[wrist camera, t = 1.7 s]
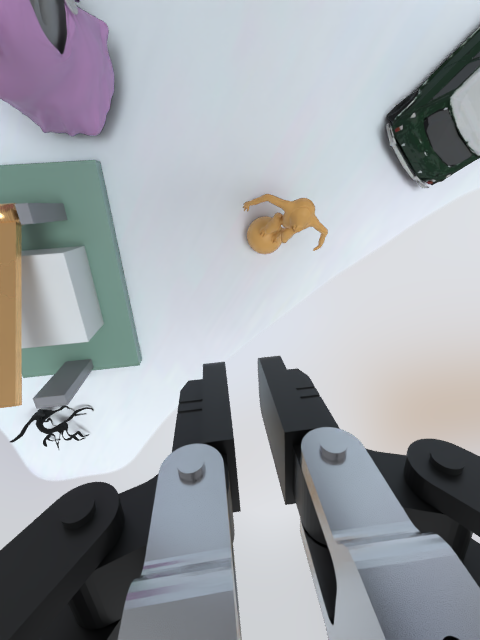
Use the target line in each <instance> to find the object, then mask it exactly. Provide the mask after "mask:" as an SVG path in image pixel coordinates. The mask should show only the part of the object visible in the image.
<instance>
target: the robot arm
mask: <svg viewBox="0 0 480 640" xmlns="http://www.w3.org/2000/svg"><path fill="white" fill-rule="evenodd" d="M258 378H259V397H260V407H261V413H262V417H263V421H264V425H265V429H266V433H267V436H268V440H269V443H270V448H271V452H272V455H273V459H274V463H275V467H276V470H277V474H278V478H279V482H280V486H281V490H282V493H283V497H284V501H285V504H286V505H287V504H294V503H296V504H297V508H298V511H299V514H300V532H301V537H302V541H303V545H304V548H305V552H306V555H307V559H308V563H309V567H310V570H311V574H312V578H313V581H314V585H315V589H316V593H317V596H318V600H319V604H320V608H321V611H322V615H323V618H324V622H325V626H326V630H327V635H328V640H480V544H479V543H478V542H476V541H475V540H473V539H472V538H471V537H472V534H473V533H475V534H476V535H478V536H479V537H480V456H477V455H475V454H473V453H471V452H469V451H467V450H465V449H463V448H461V447H459V446H456V445H454V444H452V443H449V442H446V441H442V440H436V439H421V440H417V441H415V442H413V443H412V444H411V445H410V446H409V448H408V451H407V456H406V455H399V454H390V453H383V452H377V451H372V450H368V449H366V448H365V447H364V446H363V444H362V443H361V442H360V441H359V440H358V439H357V438H356V437H355V436H353V435H352V434H350V433H349V432H346V431H344V430H341V429H339V427H338V425H337V423H336V422H335V420H334V418H333V417H332V415H331V413H330V412H329V410H328V408H327V406H326V405H325V403H324V402H323V400H322V398H321V397H320V395H319V393H318V391H317V390H316V388H315V387H314V385H313V383H312V381H311V379H310V378H309V377H308V376H307V375H306V374H304V373H303V372H302V371H300V370H299V369H289V370H287V369H286V367H285V365H284V363H283V361H282V359H281V357H280V356H273V357H264V358H258ZM239 511H240V500H239V490H238V479H237V468H236V458H235V447H234V438H233V428H232V420H231V411H230V402H229V394H228V386H227V377H226V368H225V362H218V363H209V364H203V379H200V380H192V381H188V382H187V383H186V385H185V386H184V387H183V388H182V390H181V391H180V398H179V405H178V414H177V420H176V427H175V434H174V441H173V448H172V453H171V454H170V455H169V456H168V457H167V458H166V459H165V460H164V462H163V463H162V465H161V467H160V470H159V474H158V475H156V476H155V477H154V478H152V479H151V480H149V481H148V482H145V483H143V484H141V485H139V486H137V487H134V488H132V489H130V490H127V491H125V492H122V493H120V494H118V493H117V491H116V489H115V488H114V487H113V486H112V485H110V484H107V483H104V482H92V483H87V484H84V485H81V486H78V487H76V488H74V489H72V490H71V491H69V492H67V493H66V494H64V495H63V496H62V497H60V499H58V500H57V501H56V502H54V503H53V504H52V505H51V506H50V507H49V508H48V509H47V510H45V511H44V512H43V513H42V514H41V515H40V516H39V517H38V518H36V519H35V520H34V521H33V522H32V523H31V524H30V525H29V526H28V527H26V528H25V529H24V530H23V531H22V532H21V533H20V534H18V535H17V536H16V537H15V538H14V539H13V540H12V541H11V542H9V543H8V544H7V545H6V546H5V547H4V548H3V549H2V550H0V640H242V637H241V627H240V616H239V605H238V594H237V583H236V572H235V562H234V550H233V540H234V523H233V512H239Z"/></svg>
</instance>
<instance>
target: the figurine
mask: <svg viewBox="0 0 480 640" xmlns="http://www.w3.org/2000/svg"><path fill="white" fill-rule="evenodd" d="M265 201H269V202H270V203H272V204H274V205H276V206H278V207H280V208H282V209H283V210H284V212H285V213H284V215H282V214H281V213H276V214H275V215H274V217H273V218H271V217H266V216H265V217H260V218H257V219H256V220H254V221H253V222H252V223H251V225H250V226H249V228H248V231H247V240H248V243H249V245H250V247H251V248H252V249H253V250H254V251H256V252H258V253H261V254H269V253H272V252H274V251H275V250H276V249H278V247H279V246H280V245H281V243H286V242H287V241H288V239H290V238H291V237H292V236H293V235H294V234H295V233H297V232H300V231H301V230H303V229H306V228H308V227H314V228H315V229H316V230H317V231H319V232H321V233H322V234H321V237H320V239H319V245H318V246H317V247H316V248H314V249H313V251H315V250H317V249H319V248H320V247H321V246H322V244H323V243H324V240H325V237H326V235H327V234H328V230H327V229H326V228H325V227H324V226H323V225H322V224H321V223H320V222H319V220H318V219H317V217H316V216H315V206H314V204H313V202H312V201H311V200H309V199H307V198H300V199H297V200H295V201H287V200H283V199H280V198H278V197H275V196H273V195H270V194H265V195H263V196H261V197H258V198H256V199H253V200H252V201H248V202H245V203H244V204H243V205H244V206H243V208H244V207H245V209H244V211H245V210H246V209H247V212H248V210H249V206H250V205H256V204H259V203H261V202H265ZM281 225H283V227H285V228H282V227H281Z"/></svg>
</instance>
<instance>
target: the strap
mask: <svg viewBox="0 0 480 640" xmlns="http://www.w3.org/2000/svg"><path fill="white" fill-rule="evenodd" d="M15 204H17V203H9V204H0V408H4V407H12V406H19V405H22V290H21V226H22V225H21V222H20V219H19V216H18V213H17V210H16V207H15ZM23 225H24V224H23Z"/></svg>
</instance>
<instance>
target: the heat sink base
mask: <svg viewBox="0 0 480 640" xmlns="http://www.w3.org/2000/svg"><path fill="white" fill-rule="evenodd" d="M9 203H17V204H15V207H16V210H17V213H18V216H19V219H20V222H21V225H22V226H21V290H22V376H23V378H27V377H36V376H45V375H54V376H53V377H52V378H51V379H50V380H49V381H48V382H47V383H46V385H45V386H44V387H43V388H42V389H41V390H40V391H39V392H38V393H37V395H36V396H35V397H34V398H33V400H34V403H35V406H36V408H37V409H38V408H46V407H55V406H64V405H68V404H69V402H70V401H71V400H72V398H73V397H74V395H75V394H76V392H77V391H78V389H79V388H80V387H81V385H82V384H83V382H84V381H85V379H86V378H87V376H88V375H89V374H90V372H91V371H92V370H101V369H110V368H119V367H129V366H138V365H140V363H141V361H142V358H141V353H140V348H139V344H138V339H137V334H136V329H135V325H134V320H133V315H132V310H131V306H130V301H129V296H128V292H127V287H126V282H125V277H124V273H123V268H122V263H121V259H120V254H119V249H118V244H117V240H116V235H115V230H114V225H113V221H112V216H111V211H110V207H109V202H108V197H107V192H106V188H105V183H104V178H103V173H102V169H101V164H100V162H99V161H96V160H85V161H68V162H50V163H33V164H16V165H0V204H9ZM23 224H24V225H23Z"/></svg>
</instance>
